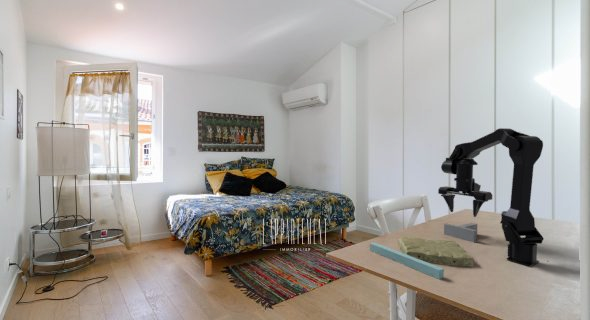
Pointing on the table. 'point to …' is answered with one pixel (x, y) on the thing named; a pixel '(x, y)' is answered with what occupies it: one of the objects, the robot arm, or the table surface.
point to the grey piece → (462, 231)
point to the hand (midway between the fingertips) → (463, 214)
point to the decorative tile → (435, 251)
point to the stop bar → (408, 260)
